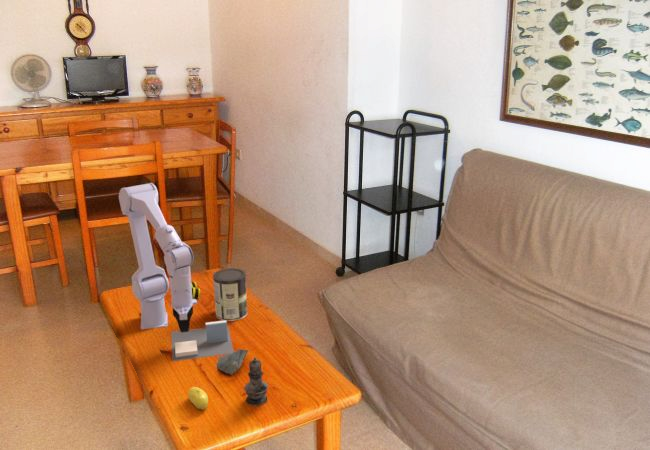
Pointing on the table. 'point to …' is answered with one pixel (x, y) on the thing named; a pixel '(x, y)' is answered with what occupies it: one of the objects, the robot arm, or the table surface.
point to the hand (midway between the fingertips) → (184, 330)
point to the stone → (231, 361)
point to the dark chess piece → (256, 385)
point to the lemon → (198, 398)
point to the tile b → (216, 331)
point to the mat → (201, 343)
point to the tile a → (186, 349)
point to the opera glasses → (195, 291)
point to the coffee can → (230, 294)
